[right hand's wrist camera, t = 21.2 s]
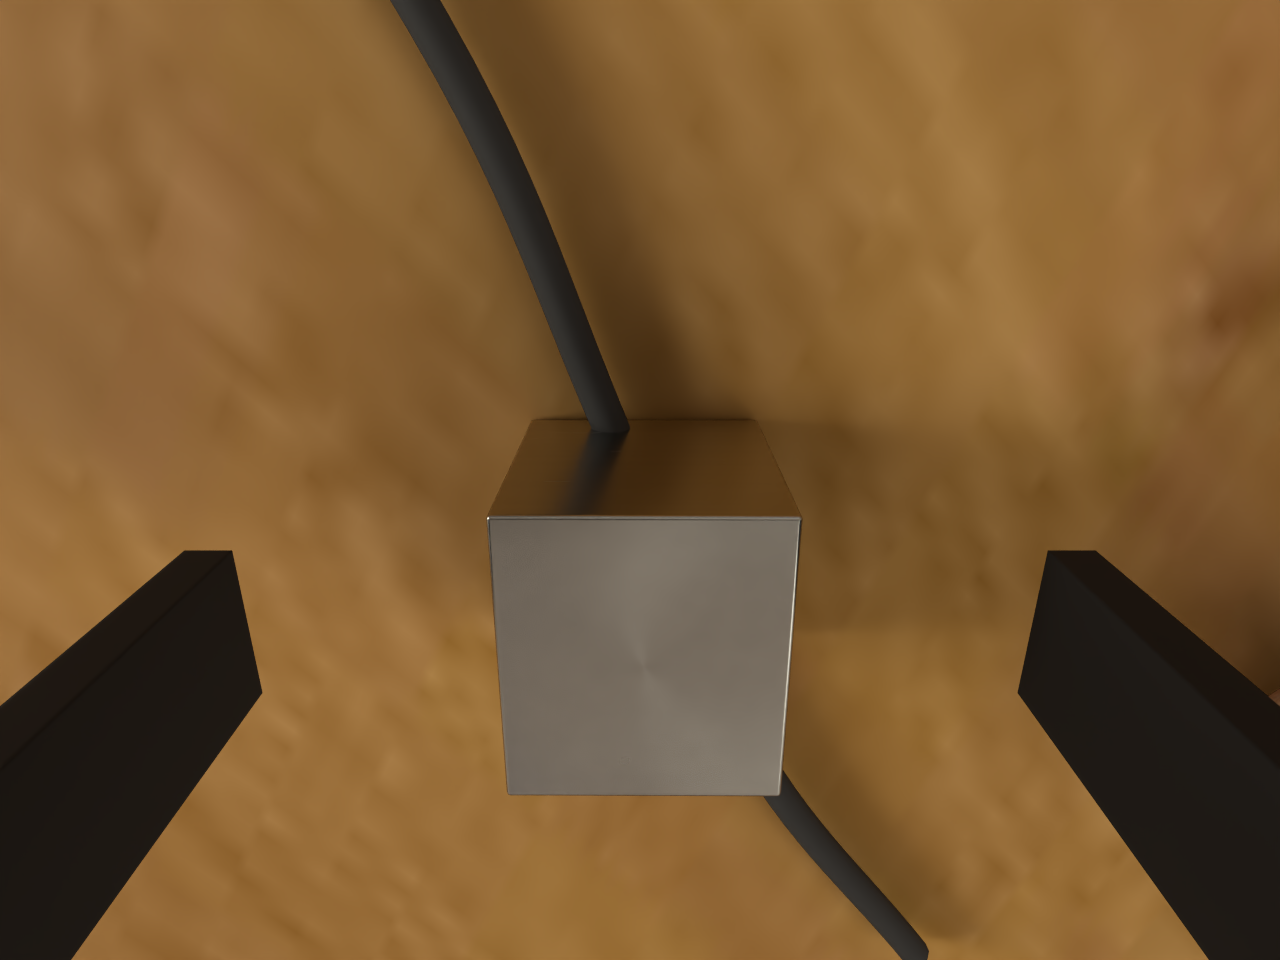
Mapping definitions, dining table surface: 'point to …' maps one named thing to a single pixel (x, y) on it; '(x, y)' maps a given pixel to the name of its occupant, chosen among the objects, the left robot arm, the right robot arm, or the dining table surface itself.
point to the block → (644, 609)
